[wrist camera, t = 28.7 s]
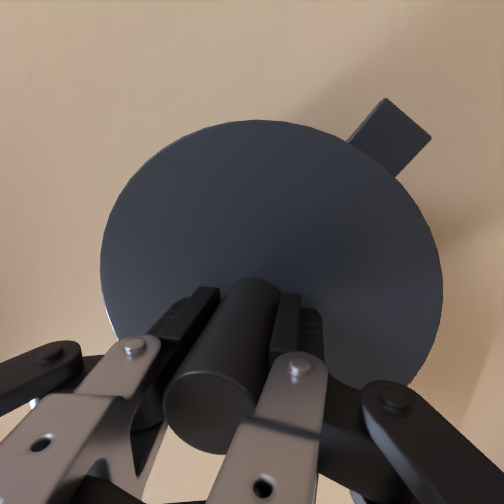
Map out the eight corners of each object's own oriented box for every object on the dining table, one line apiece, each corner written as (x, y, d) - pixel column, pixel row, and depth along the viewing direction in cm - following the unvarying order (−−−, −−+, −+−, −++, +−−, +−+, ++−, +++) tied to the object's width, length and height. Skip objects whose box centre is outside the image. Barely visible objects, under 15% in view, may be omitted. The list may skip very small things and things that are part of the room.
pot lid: (517, 284, 11) (779, 448, 5) (279, 462, 16) (258, 661, 10) (226, 37, 10) (101, -137, 4) (69, 299, 15) (-99, 398, 9)
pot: (441, 195, 20) (546, 227, 11) (270, 359, 26) (248, 463, 17) (294, 69, 19) (278, -5, 10) (154, 267, 26) (71, 326, 17)
